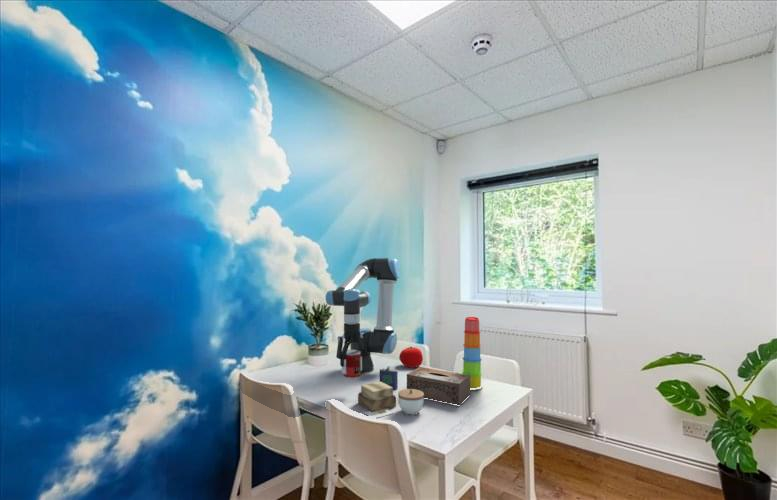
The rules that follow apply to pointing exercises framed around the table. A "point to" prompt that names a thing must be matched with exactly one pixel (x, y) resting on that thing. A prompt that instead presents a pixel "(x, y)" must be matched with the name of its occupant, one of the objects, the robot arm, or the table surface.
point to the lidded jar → (411, 400)
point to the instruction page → (379, 413)
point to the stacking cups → (472, 352)
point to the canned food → (353, 363)
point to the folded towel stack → (376, 396)
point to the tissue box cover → (440, 384)
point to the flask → (389, 377)
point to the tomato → (411, 357)
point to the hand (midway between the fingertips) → (352, 371)
